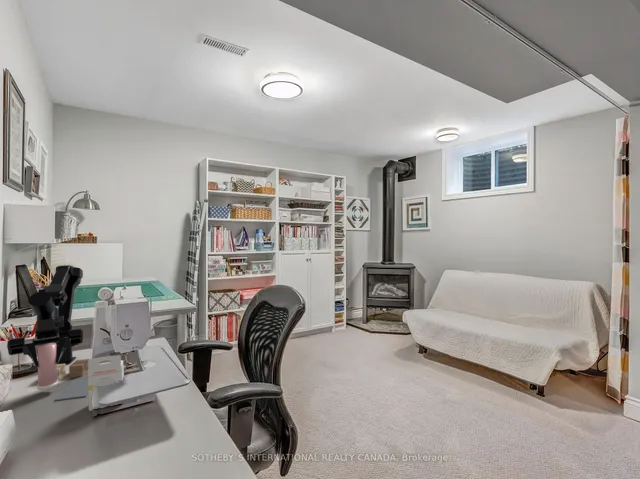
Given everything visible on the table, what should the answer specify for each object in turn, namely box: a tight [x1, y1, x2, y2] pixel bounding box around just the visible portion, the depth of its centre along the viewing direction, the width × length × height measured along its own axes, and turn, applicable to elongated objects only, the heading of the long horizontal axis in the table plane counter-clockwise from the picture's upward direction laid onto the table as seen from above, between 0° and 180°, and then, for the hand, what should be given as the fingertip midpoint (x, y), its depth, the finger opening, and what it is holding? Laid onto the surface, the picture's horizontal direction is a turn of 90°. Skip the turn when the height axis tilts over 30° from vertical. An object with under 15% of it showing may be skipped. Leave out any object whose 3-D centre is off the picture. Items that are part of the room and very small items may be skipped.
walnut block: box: [68, 358, 90, 378], centre depth 119 cm, size 6×4×4 cm, turn 15°
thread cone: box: [36, 343, 59, 391], centre depth 104 cm, size 5×5×13 cm
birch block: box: [57, 364, 66, 381], centre depth 115 cm, size 5×5×4 cm
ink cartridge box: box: [87, 354, 125, 412], centre depth 97 cm, size 9×5×15 cm, turn 115°
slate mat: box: [54, 377, 88, 402], centre depth 107 cm, size 14×8×1 cm, turn 18°
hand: (47, 365), depth 103 cm, fingers closed on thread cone, 5 cm apart
